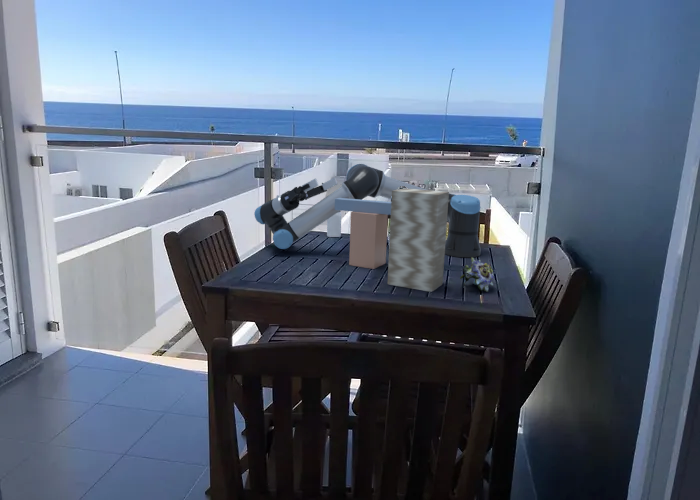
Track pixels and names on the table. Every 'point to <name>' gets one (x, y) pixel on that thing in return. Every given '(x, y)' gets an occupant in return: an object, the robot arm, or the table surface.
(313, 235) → the table surface
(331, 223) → the can
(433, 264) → the stand
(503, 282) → the table surface
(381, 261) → the block
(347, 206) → the bar
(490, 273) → the passion flower
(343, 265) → the table surface
